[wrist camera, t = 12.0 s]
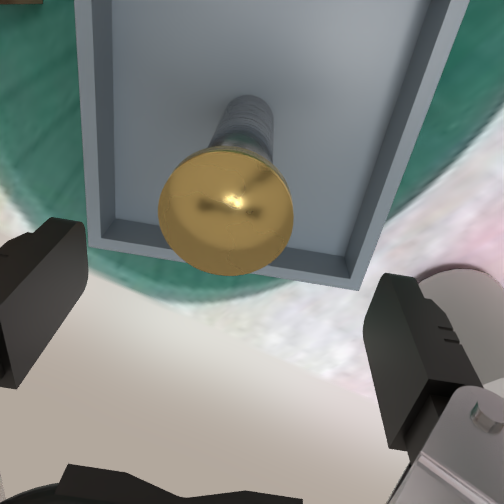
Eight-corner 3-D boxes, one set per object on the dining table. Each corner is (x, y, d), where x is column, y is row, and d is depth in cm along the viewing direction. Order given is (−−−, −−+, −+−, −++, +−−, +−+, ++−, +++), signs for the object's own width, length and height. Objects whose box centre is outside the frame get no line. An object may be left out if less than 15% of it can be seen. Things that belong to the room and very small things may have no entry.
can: (440, 245, 28) (532, 382, 18) (522, 287, 30) (648, 435, 20) (376, 317, 32) (423, 464, 22) (451, 350, 34) (528, 503, 23)
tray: (452, -29, 20) (482, -34, 17) (350, 261, 30) (358, 291, 27) (99, -100, 20) (67, -118, 17) (108, 221, 29) (88, 246, 26)
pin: (292, 89, 23) (307, 167, 12) (277, 163, 25) (278, 284, 14) (215, 74, 23) (160, 141, 12) (207, 151, 25) (155, 264, 14)
